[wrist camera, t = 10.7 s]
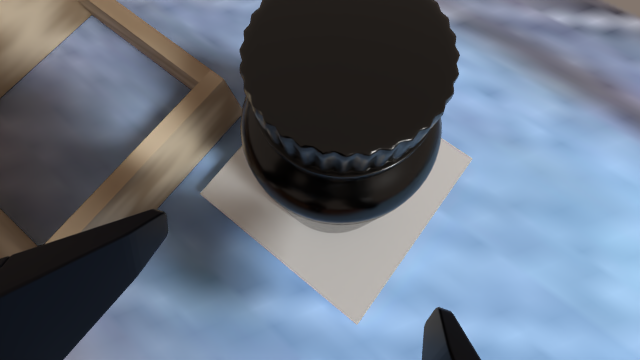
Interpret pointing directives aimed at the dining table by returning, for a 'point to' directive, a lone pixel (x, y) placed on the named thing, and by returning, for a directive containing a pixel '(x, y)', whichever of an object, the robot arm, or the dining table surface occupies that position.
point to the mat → (335, 248)
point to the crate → (157, 148)
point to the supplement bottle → (345, 104)
